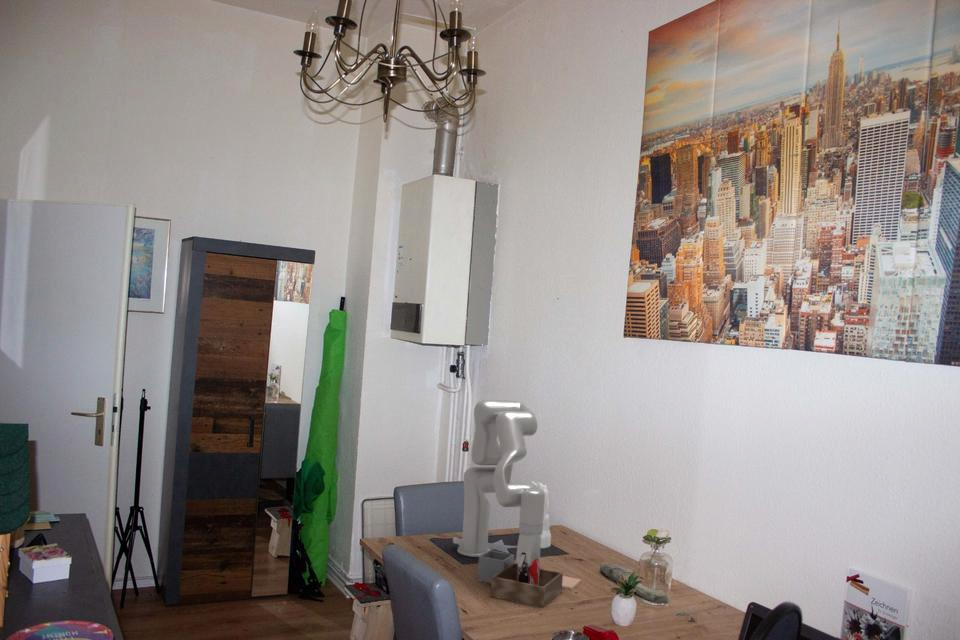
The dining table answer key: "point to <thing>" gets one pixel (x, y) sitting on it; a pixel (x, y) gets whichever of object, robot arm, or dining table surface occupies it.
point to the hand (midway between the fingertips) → (527, 583)
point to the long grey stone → (645, 592)
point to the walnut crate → (527, 586)
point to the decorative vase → (545, 517)
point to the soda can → (532, 572)
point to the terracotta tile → (570, 582)
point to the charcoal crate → (493, 564)
